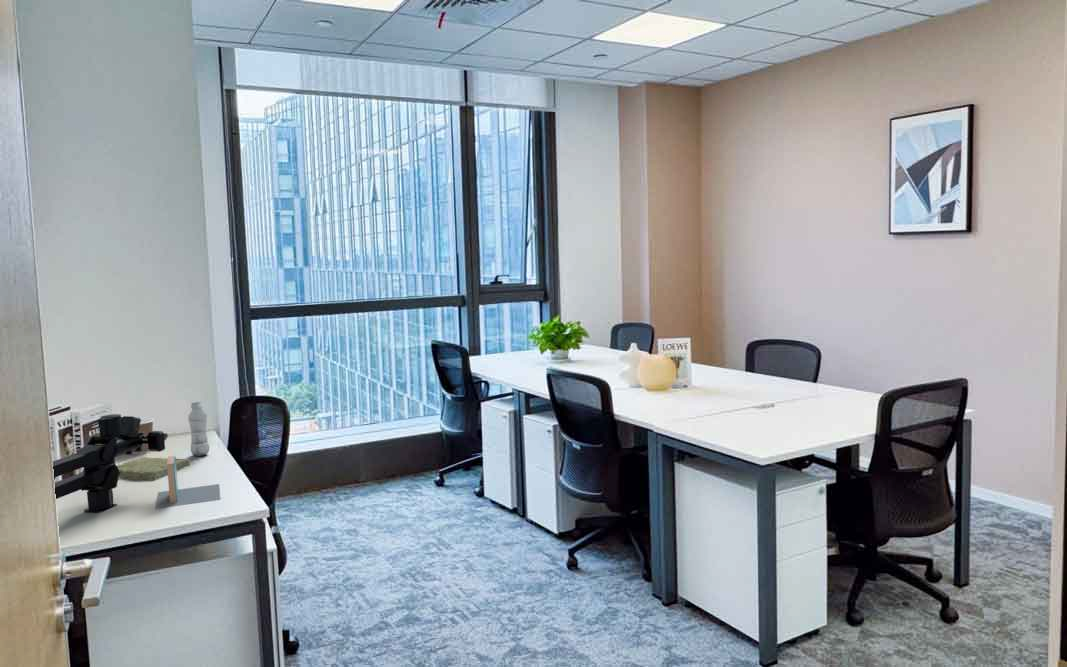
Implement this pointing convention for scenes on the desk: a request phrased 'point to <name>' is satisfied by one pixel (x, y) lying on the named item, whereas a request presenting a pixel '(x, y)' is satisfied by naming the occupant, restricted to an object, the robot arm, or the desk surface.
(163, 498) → the mat
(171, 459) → the tile
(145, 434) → the coffee cup
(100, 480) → the robot arm
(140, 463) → the decorative tile
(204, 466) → the desk surface
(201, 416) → the plastic bottle
